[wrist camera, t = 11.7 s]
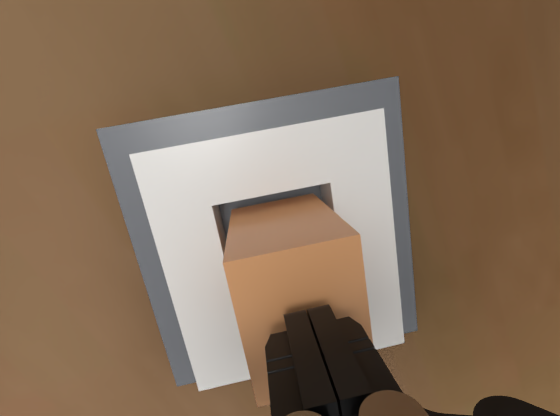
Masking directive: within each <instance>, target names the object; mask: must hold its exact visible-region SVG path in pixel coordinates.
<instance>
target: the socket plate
mask: <svg viewBox="0 0 560 416" xmlns="http://www.w3.org/2000/svg"><path fill="white" fill-rule="evenodd" d="M96 131H97V134H98V137H99V140H100V144H101V147H102V150H103V153H104V156H105V159H106V163H107V166H108V169H109V172H110V175H111V178H112V182H113V185H114V188H115V191H116V194H117V197H118V201H119V204H120V207H121V210H122V213H123V216H124V220H125V223H126V226H127V229H128V232H129V235H130V239H131V242H132V245H133V248H134V251H135V254H136V258H137V261H138V264H139V267H140V270H141V273H142V277H143V280H144V283H145V286H146V289H147V292H148V296H149V299H150V302H151V305H152V308H153V311H154V315H155V318H156V321H157V324H158V327H159V330H160V334H161V337H162V340H163V343H164V346H165V349H166V353H167V356H168V359H169V362H170V365H171V368H172V372H173V375H174V378H175V381H176V384H177V386H181V385H186V384H190V383H194V382H196V383H197V386H198V389H199V391H202V390H206V389H211V388H215V387H219V386H223V385H228V384H232V383H236V382H240V381H245V380H249V379H251V378H250V374H249V370H248V366H247V362H246V358H245V353H244V349H243V345H242V341H241V337H240V333H239V329H238V324H237V320H236V316H235V312H234V308H233V304H232V300H231V295H230V291H229V287H228V283H227V279H226V275H225V271H224V267H223V258H224V252H225V246H226V240H227V234H228V228H229V222H230V216H231V210H232V209H236V208H241V207H246V206H251V205H256V204H261V203H266V202H271V201H276V200H281V199H286V198H292V197H297V196H302V195H307V194H312V193H313V194H314V195H316V196H317V197H318V198H319V199H320V200H321V201H323V202H324V203H325V204H326V205H327V206H328V207H329V208H331V209H332V210H333V211H334V212H335V213H336V214H338V215H339V216H340V217H341V218H342V219H343V220H344V221H346V222H347V223H348V224H349V225H350V226H351V227H352V228H354V229H355V230H356V231H357V232H358V233H359V234H360V237H361V245H362V254H363V262H364V271H365V279H366V288H367V296H368V304H369V313H370V321H371V330H372V338H373V345H374V346H375V349H381V348H385V347H389V346H393V345H398V344H402V343H404V333H409V332H413V331H417V317H416V303H415V290H414V277H413V263H412V250H411V237H410V223H409V210H408V196H407V183H406V170H405V156H404V143H403V130H402V116H401V103H400V90H399V76H396V77H390V78H385V79H379V80H373V81H368V82H362V83H356V84H351V85H345V86H339V87H334V88H328V89H322V90H317V91H311V92H305V93H300V94H294V95H288V96H283V97H277V98H271V99H265V100H260V101H254V102H248V103H243V104H237V105H231V106H226V107H220V108H214V109H209V110H203V111H197V112H192V113H186V114H180V115H175V116H169V117H163V118H157V119H152V120H146V121H140V122H135V123H129V124H123V125H118V126H112V127H106V128H101V129H96Z"/></svg>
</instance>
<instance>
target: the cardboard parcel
mask: <svg viewBox="0 0 560 416" xmlns="http://www.w3.org/2000/svg"><path fill="white" fill-rule="evenodd" d="M223 267H224V271H225V275H226V279H227V283H228V287H229V291H230V295H231V300H232V304H233V308H234V312H235V316H236V320H237V324H238V329H239V333H240V337H241V341H242V345H243V349H244V353H245V358H246V362H247V366H248V370H249V374H250V378H251V382H252V387H253V391H254V395H255V399H256V403H257V407H262V406H266V405H270V397H269V386H268V374H267V365H266V354H265V346H266V343H267V341H268V339H269V336H270V334H274V333H279V332H283V331H287V330H286V325H285V320H284V315H283V314H287V313H292V312H296V311H301V310H306V313H307V309H309V308H314V307H318V306H323V305H327V304H329V305H330V307H331V309H332V311H333V313H334V315H335V317H336V319H340V318H344V317H348V316H349V317H351V318H352V319H354V320H355V321H356V322H358V323H359V324H361V325H362V327H363V328H364V330H365V332H366V333H367V335H368V337H369V339H370V340H371V342H372V343H373V338H372V330H371V321H370V313H369V304H368V296H367V288H366V279H365V271H364V262H363V254H362V245H361V237H360V234H359V233H358V232H357V231H356V230H355V229H354V228H352V227H351V226H350V225H349V224H348V223H347V222H346V221H344V220H343V219H342V218H341V217H340V216H339V215H338V214H336V213H335V212H334V211H333V210H332V209H331V208H329V207H328V206H327V205H326V204H325V203H324V202H323V201H321V200H320V199H319V198H318V197H317V196H316V195H314V194H313V193H312V194H307V195H302V196H297V197H292V198H286V199H281V200H276V201H271V202H266V203H261V204H256V205H251V206H246V207H241V208H236V209H232V210H231V216H230V222H229V228H228V234H227V240H226V246H225V252H224V258H223Z"/></svg>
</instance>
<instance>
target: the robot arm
mask: <svg viewBox="0 0 560 416" xmlns="http://www.w3.org/2000/svg"><path fill="white" fill-rule="evenodd" d="M283 315H284V320H285V325H286V330H287V331H283V332H279V333H274V334H270V336H269V339H268V341H267V343H266V346H265V354H266V365H267V374H268V386H269V397H270V407H271V416H471V415H456V414H443V413H437V412H433V411H430V410H427V409H424V408H423V407H422V406H421V405H420V404H419V403H418V402H417V401H416V400H415V399H413V398H412V397H410V396H408V395H406V394H404V393H403V392H402V391H401V389H400V388H399V386H398V384H397V383H396V381H395V379H394V378H393V376H392V374H391V373H390V371H389V369H388V368H387V366H386V365H385V363H384V361H383V360H382V358H381V356H380V355H379V353H378V351H377V350H376V349H375V346H374V345H373V343H372V342H371V340H370V339H369V337H368V335H367V333H366V332H365V330H364V328H363V327H362V325H361V324H359V323H358V322H356V321H355V320H354V319H352V318H351V317H349V316H348V317H344V318H340V319H336V317H335V315H334V313H333V311H332V309H331V307H330V305H329V304H327V305H323V306H318V307H314V308H309V309H307V313H306V310H301V311H296V312H292V313H287V314H283ZM473 416H559V415H556V414H554V413H551V412H549V411H547V410H544V409H542V408H539V407H537V406H534V405H532V404H529V403H527V402H524V401H522V400H519V399H516V398H512V397H507V396H490V397H486V398H484V399H482V400H480V401H479V402H478V403H477V404H476V406H475V407H474V411H473Z"/></svg>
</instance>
